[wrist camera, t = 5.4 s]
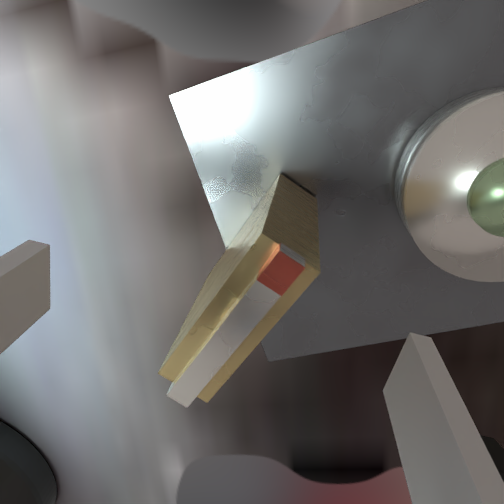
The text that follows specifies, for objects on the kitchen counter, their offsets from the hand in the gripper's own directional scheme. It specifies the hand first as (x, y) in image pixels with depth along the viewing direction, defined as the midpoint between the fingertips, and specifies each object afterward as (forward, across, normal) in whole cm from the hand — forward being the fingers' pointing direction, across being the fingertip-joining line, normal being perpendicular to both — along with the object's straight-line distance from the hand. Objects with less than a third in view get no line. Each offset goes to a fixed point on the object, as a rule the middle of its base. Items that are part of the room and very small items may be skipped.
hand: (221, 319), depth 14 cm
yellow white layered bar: (+7, -1, 0) cm, 7 cm away
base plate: (+8, -10, -6) cm, 14 cm away
